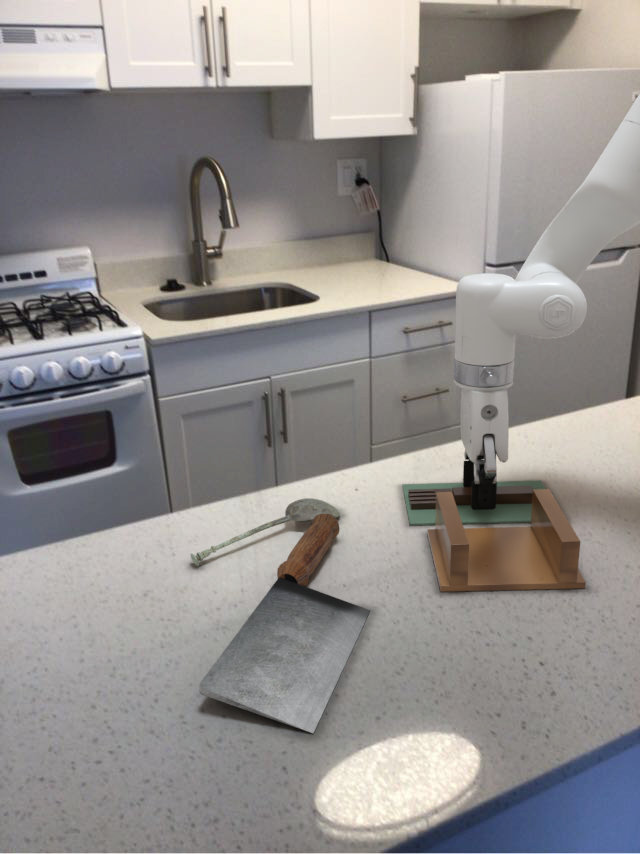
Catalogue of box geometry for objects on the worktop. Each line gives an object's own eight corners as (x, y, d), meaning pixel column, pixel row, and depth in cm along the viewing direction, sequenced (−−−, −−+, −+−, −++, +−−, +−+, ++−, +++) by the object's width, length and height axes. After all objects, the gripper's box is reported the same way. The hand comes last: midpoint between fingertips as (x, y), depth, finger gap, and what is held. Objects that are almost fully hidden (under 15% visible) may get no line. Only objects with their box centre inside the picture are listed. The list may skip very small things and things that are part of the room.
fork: (529, 492, 106) (530, 482, 105) (537, 506, 102) (538, 496, 101) (408, 495, 106) (408, 485, 106) (410, 510, 102) (410, 499, 102)
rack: (553, 531, 96) (557, 488, 94) (585, 588, 84) (590, 541, 82) (427, 534, 97) (427, 492, 94) (440, 591, 84) (441, 544, 82)
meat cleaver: (315, 734, 65) (313, 696, 64) (196, 708, 68) (192, 672, 67) (400, 546, 95) (400, 517, 93) (314, 535, 98) (313, 507, 97)
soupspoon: (350, 523, 101) (321, 508, 107) (350, 500, 100) (320, 486, 106) (205, 576, 89) (180, 556, 94) (203, 550, 88) (177, 531, 93)
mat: (540, 482, 110) (540, 480, 109) (563, 521, 98) (564, 519, 98) (402, 486, 110) (402, 484, 110) (409, 525, 99) (409, 523, 99)
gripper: (528, 392, 89) (520, 527, 96) (499, 353, 105) (493, 470, 112) (465, 394, 90) (461, 528, 96) (445, 354, 106) (442, 472, 112)
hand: (478, 496), depth 104 cm, fingers open, 6 cm apart
